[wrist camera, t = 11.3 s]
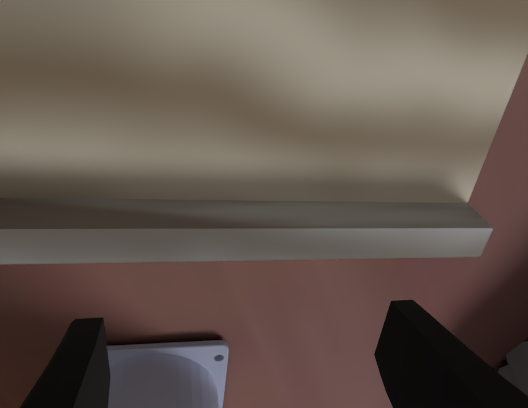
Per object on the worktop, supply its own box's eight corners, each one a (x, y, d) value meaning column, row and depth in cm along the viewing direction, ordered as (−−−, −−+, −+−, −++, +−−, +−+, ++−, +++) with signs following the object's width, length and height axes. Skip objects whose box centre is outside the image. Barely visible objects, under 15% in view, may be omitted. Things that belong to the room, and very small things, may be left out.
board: (440, 212, 23) (480, 256, 20) (-237, 209, 17) (-320, 269, 14) (556, -98, 16) (641, -100, 13) (-489, -275, 10) (-744, -347, 8)
